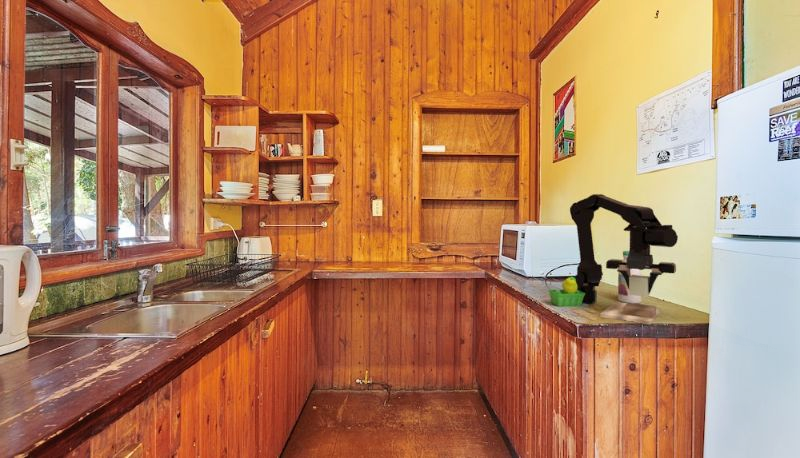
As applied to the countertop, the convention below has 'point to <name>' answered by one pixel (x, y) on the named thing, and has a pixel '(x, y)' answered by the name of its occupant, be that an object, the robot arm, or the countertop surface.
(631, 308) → the base block
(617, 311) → the board
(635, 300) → the milk bottle
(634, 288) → the top block
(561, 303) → the fruit basket
